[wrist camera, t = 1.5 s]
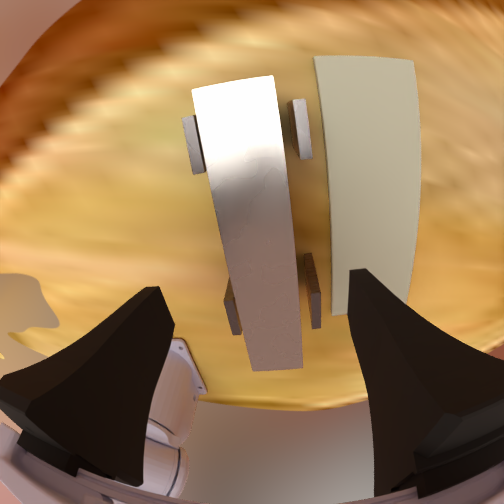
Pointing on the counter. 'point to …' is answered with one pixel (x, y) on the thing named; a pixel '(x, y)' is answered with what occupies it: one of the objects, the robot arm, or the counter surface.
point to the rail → (254, 214)
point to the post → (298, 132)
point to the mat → (371, 169)
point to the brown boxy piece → (312, 295)
